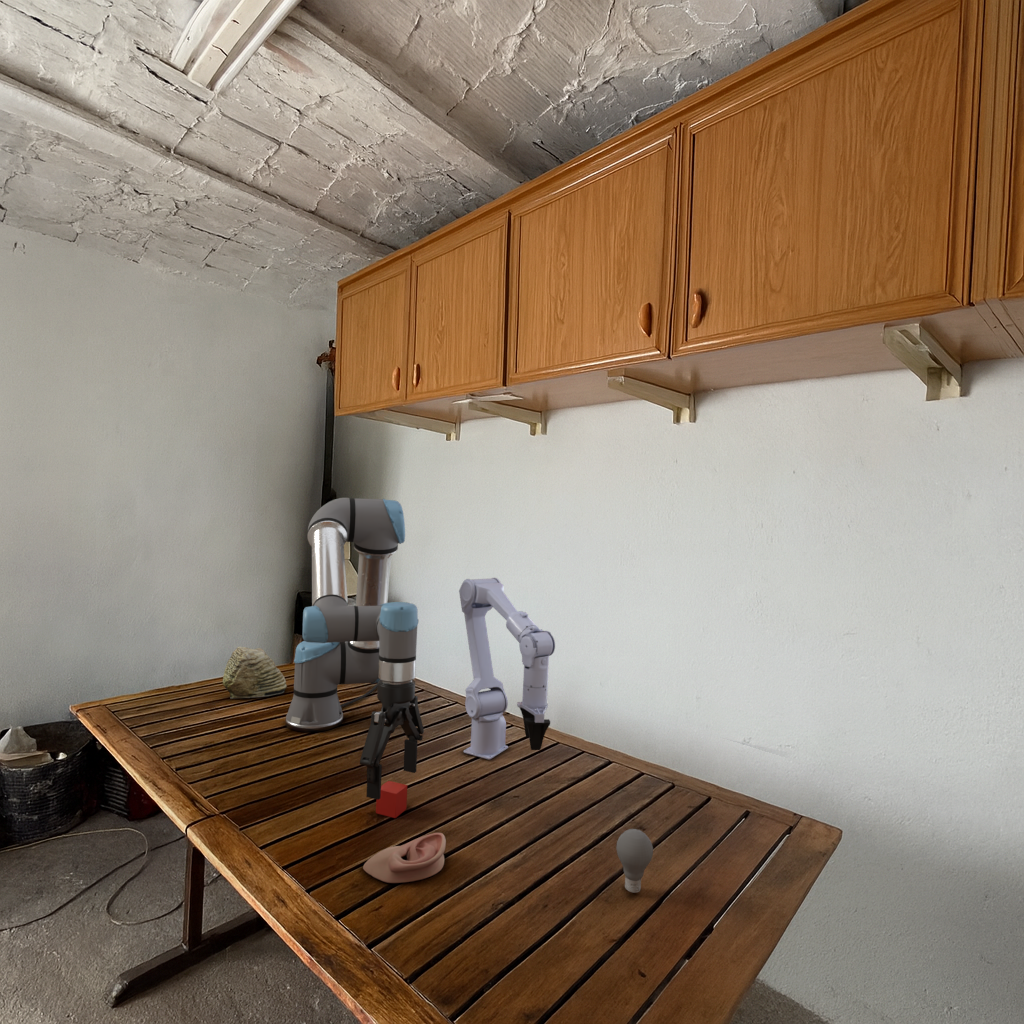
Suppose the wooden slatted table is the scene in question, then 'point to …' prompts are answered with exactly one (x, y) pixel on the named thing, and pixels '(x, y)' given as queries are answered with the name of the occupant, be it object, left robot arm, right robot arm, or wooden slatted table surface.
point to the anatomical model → (409, 860)
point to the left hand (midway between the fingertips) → (392, 784)
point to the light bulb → (634, 857)
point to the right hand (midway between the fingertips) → (532, 742)
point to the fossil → (252, 674)
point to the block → (392, 799)
